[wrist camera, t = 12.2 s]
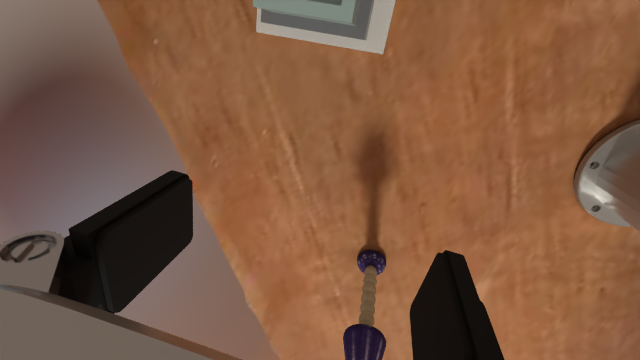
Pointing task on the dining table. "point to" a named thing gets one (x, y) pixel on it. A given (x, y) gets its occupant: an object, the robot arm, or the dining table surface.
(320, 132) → the dining table surface
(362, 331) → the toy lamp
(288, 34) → the stepped pedestal
